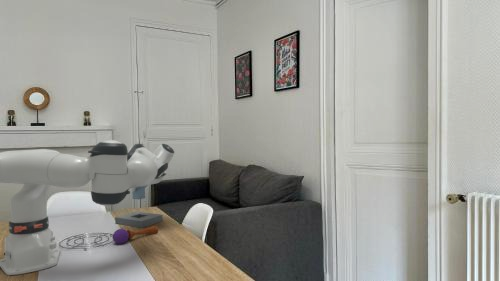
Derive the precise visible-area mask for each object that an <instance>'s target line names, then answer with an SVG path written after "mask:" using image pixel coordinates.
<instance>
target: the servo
mask: <svg viewBox="0 0 500 281" xmlns="http://www.w3.org/2000/svg"><path fill="white" fill-rule="evenodd" d="M145 187H146V186H141V187H137V190H136V191H134V192H133V191H132V190H131V191H132V192H131V193H132V199H133V200H143V199H146V188H147V187H146V188H145Z"/></svg>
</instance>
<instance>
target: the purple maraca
mask: <svg viewBox="0 0 500 281" xmlns="http://www.w3.org/2000/svg"><path fill="white" fill-rule="evenodd" d="M158 232H159V228H158V227H157V226H156V225H154V226H151V227H147V228H145V229H140V230H138V231H133V230H130V229H125V228H118V229H115V231H114V232H113V234H112V240H113V242H114V243H115V244H118V245H122V244H125V243H126V242H127V241H131V239H132V238H133V237H135V236H138V235H140V236H141V235H154V234H158Z"/></svg>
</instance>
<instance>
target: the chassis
mask: <svg viewBox="0 0 500 281" xmlns="http://www.w3.org/2000/svg"><path fill="white" fill-rule="evenodd" d="M163 218H164V216H163V214H158V213H151V212H144V211H138V210H137V211H134V212H130V213H126V214H122V215H119V216H116V217H115V218H114V221H115V222H114V223H115V224H116V225H124V226H129V227H136V228H145V227H148V226H151V225H154V224H157V223H159V222H163V221H164V219H163Z"/></svg>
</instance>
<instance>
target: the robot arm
mask: <svg viewBox="0 0 500 281" xmlns="http://www.w3.org/2000/svg"><path fill="white" fill-rule="evenodd" d="M87 154H90V155H89V156H79V155H75V154H69V153H61V152H59V151H58V150H55V149H49V148H40V149H39V148H38V149H36V148H35V149H23V150H21V149H20V150H19V149H18V150H7V151H6V150H5V151H1V152H0V184H16V185H17V184H19V185H23V187H21V189H20V190H19V191H18V192H15V193H14V194H13V195H12V196H11V198H10V201H9V215H10V216H9V218H10V220H9V222H8V232H9V234H8V235H7V236H5V238H4V252H3V256H4V258H2V259H0V268H1V270H2V271H3V273H5V275H7V276H12V275H13V276H14V275H23V274H27V273H31V272H32V273H33V272H38V271H41V270H46V269H49V268H52V267H54V266H55V267H56V265H57V263H58V261H59V258H60V255H61V249H59V248H57V241H55V240H56V236H55V235H54V230H52V229H50V228H49V226H50V225H49V223H50V221H49V216H48V209H47V207H48V205H47V204H48V195H49V190H50V189H51V186H53V187H57V188H58V187H60V188H69V189H70V188H80V187H84V186H86V185H87V184H88V183H91V191H90V196H91V200H92V202H93V203H95V204H97V205H99V206H103V207H104V206H105V207H110V206H114V205H118V204H120V203H121V202H122V201H123V200H124V199H126V197H127V195H129V194H131V191H133V192H134V191H136V190H137V187H141V186H146V187H145V189H146V188H148V187H149V186H150V185H154V184H159V183H160V182H161V181H162V180H163V179H164V178H165V176H167V175H168V172H167V171H166V170H168V168H169V164H170V162H171V161H172V160H173V157H174V154H175V151H174V149H173V148H172V147H171V146H170V145H169V144H167V143H161V144H160V145H159V146H158V147H157V148H156V149H155V150H153V152H152V151H150V150H149V149H147V148H146V147H145V146H144V145H143V144H142V143H134V144H133V145H131V146H130V147H129V149H128V146H127V145H126V144H125V143H122V142H121V141H118V140H117V139H116V140H115V139H108V140H107V139H106V140H104V141H101V142H98V143H97V144H95V145H94V146H93V147H92V149H91V150H88V151H87ZM130 189H131V191H130Z"/></svg>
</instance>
